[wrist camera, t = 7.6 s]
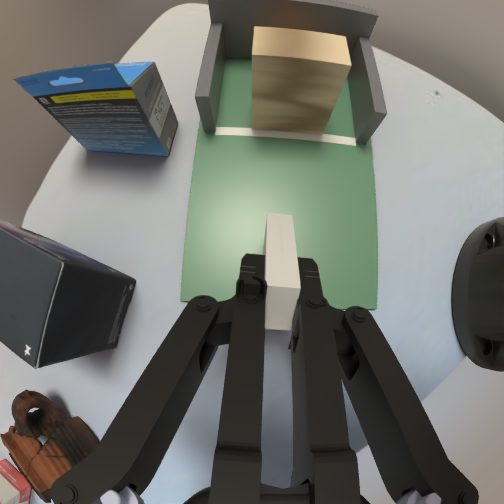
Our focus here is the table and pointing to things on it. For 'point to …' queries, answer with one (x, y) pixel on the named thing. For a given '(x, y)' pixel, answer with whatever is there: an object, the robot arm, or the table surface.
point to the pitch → (284, 159)
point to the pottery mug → (54, 450)
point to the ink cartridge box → (13, 485)
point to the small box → (57, 299)
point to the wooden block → (296, 78)
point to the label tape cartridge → (108, 105)
